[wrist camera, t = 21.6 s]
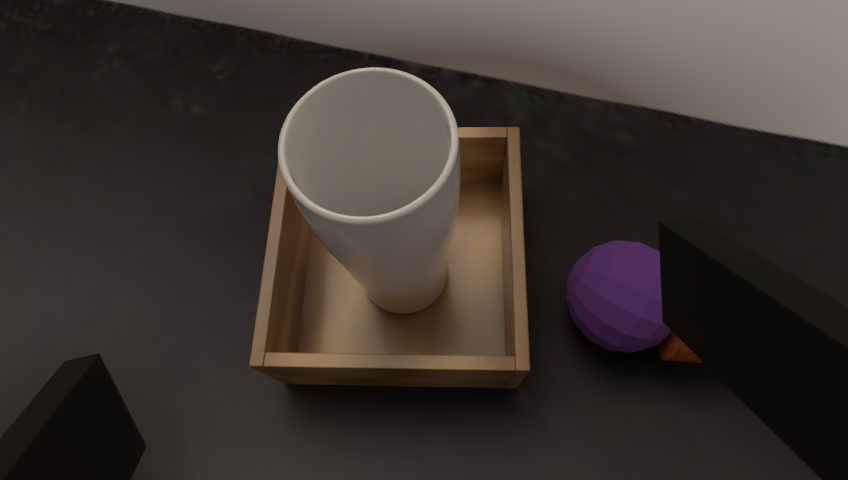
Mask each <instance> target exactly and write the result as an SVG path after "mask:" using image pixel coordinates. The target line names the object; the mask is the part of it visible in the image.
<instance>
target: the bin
mask: <svg viewBox="0 0 848 480" xmlns="http://www.w3.org/2000/svg"><path fill="white" fill-rule="evenodd" d="M458 135H459V146H460V158H461V191H460V202H459V209H458V215H457V220H456V225H455V230H454V235H453V240H452V245H451V251H450V257H449V273H448V279H447V283H446V285H445V288H444V290H443V291H442V293H441V295H440V296H439V297H438V298H437V299H436V300H435V301H434V302H433V303H432V304H431V305H429V306H428V307H426V308H424V309H422V310H420V311H417V312H414V313H408V314H398V313H392V312H388V311H386V310H384V309H382V308H380V307H378V306H377V305H375V304H374V303H373V302H372V301H371V300H370V299H369V298H368V297H367V295H366V294H365V292H364V290H363V289H362V287H361V286H360V285H359V284H358V283H357V281H356V280H355V279H354V278H353V277H352V276H351V275H350V274H349V273H348V272H347V270H346V269H345V268H344V267H343V266H342V265H341V264H340V263H339V262H338V261H337V260H336V259H335V258H334V257H333V255H332V254H331V253H330V252H329V251H328V250H327V249H326V248H325V247H324V245H323V244H322V243H321V242H320V241H319V239H318V238H317V237H316V236H315V234H314V233H313V231H312V230H311V228H310V227H309V225H308V224H307V222H306V221H305V219H304V218H303V216H302V214H301V213H300V211H299V209H298V207H297V205H296V203H295V201H294V199H293V198H292V196H291V193H290V191H289V189H288V187H287V186H286V184H285V182H284V180H283V177H282V174H281V171H280V167H279V161H278V168H277V175H276V182H275V189H274V196H273V203H272V210H271V217H270V224H269V231H268V238H267V245H266V252H265V259H264V266H263V273H262V280H261V287H260V294H259V301H258V308H257V315H256V322H255V329H254V336H253V343H252V350H251V357H250V364H249V366H250V367H252V368H254V369H256V370H258V371H260V372H262V373H264V374H266V375H268V376H270V377H273V378H275V379H277V380H279V381H281V382H283V383H285V384H311V385H364V386H417V387H470V388H518V386H519V385H520V384H521V382H522V381H523V380H524V378H525V377H526V375H527V374H528V373H529V371H530V354H529V332H528V309H527V287H526V265H525V243H524V221H523V198H522V176H521V154H520V132H519V127H508V128H506V127H463V128H458Z"/></svg>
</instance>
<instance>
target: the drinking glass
mask: <svg viewBox="0 0 848 480" xmlns="http://www.w3.org/2000/svg"><path fill="white" fill-rule="evenodd" d="M278 161H279V167H280V171H281V174H282V177H283V180H284V182H285V184H286V186H287V187H288V189H289V191H290V193H291V196H292V198H293V199H294V201H295V203H296V205H297V207H298V209H299V211H300V213H301V214H302V216H303V218H304V219H305V221H306V222H307V224H308V225H309V227H310V228H311V230H312V231H313V233H314V234H315V236H316V237H317V238H318V239H319V241H320V242H321V243H322V244H323V245H324V247H325V248H326V249H327V250H328V251H329V252H330V253H331V254H332V255H333V257H334V258H335V259H336V260H337V261H338V262H339V263H340V264H341V265H342V266H343V267H344V268H345V269H346V270H347V272H348V273H349V274H350V275H351V276H352V277H353V278H354V279H355V280H356V281H357V283H358V284H359V285H360V286H361V287H362V289H363V290H364V292H365V294H366V295H367V297H368V298H369V299H370V300H371V301H372V302H373V303H374V304H375V305H377V306H378V307H380V308H382V309H384V310H386V311H388V312H392V313H398V314H408V313H414V312H417V311H420V310H422V309H424V308H426V307H428V306H429V305H431V304H432V303H433V302H434V301H435V300H436V299H437V298H438V297H439V296H440V295H441V293H442V291H443V290H444V288H445V285H446V283H447V279H448V273H449V257H450V251H451V245H452V240H453V235H454V230H455V225H456V220H457V215H458V209H459V202H460V191H461V158H460V146H459V135H458V128H457V124H456V120H455V118H454V115H453V113H452V111H451V109H450V107H449V105H448V104H447V102H446V101H445V99H444V98H443V97H442V96H441V95H440V94H439V93H438V92H437V91H436V90H435V89H434V88H433V87H432V86H430V85H429V84H428V83H426V82H425V81H423V80H422V79H420V78H418V77H416V76H414V75H411V74H409V73H406V72H403V71H399V70H395V69H389V68H375V67H373V68H360V69H354V70H350V71H346V72H343V73H340V74H337V75H334V76H332V77H330V78H328V79H326V80H324V81H322V82H321V83H319V84H317V85H316V86H314V87H313V88H312V89H310V90H309V91H308V92H307V93H306V94H305V95H303V96H302V97H301V98H300V99H299V101H298V102H297V103H296V104H295V105H294V107H293V108H292V110H291V111H290V113H289V114H288V116H287V118H286V120H285V122H284V124H283V127H282V130H281V133H280V137H279V142H278Z"/></svg>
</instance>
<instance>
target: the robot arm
mask: <svg viewBox="0 0 848 480" xmlns="http://www.w3.org/2000/svg"><path fill="white" fill-rule="evenodd" d="M659 247H660V273H661V298H662V322H663V323H664V324H665V325H666V326H667V327H668V328H669V329H670V330H671V331H672V332H673V333H674V334H675V335H676V336H677V337H678V338H679V339H680V340H681V341H682V342H683V343H684V344H685V345H686V346H687V347H688V348H689V349H690V350H691V351H692V352H693V353H694V354H695V355H696V356H697V357H698V358H699V359H700V360H701V361H702V362H703V363H705V364H706V365H707V366H708V367H709V368H710V369H711V370H712V371H713V372H714V373H715V374H716V375H717V376H718V377H719V378H720V379H721V380H722V381H723V382H724V383H725V384H726V385H727V386H728V387H729V388H730V389H731V390H732V391H733V392H734V393H735V394H736V395H737V396H738V397H739V398H740V399H741V400H742V401H743V402H744V403H745V404H746V405H747V406H748V407H749V408H750V409H751V410H752V411H753V412H754V413H755V414H756V415H757V416H758V417H759V418H760V419H761V420H762V421H763V422H764V423H765V424H766V425H767V426H768V427H769V428H770V429H771V430H772V431H773V432H774V433H775V434H776V435H777V436H778V437H779V438H780V439H781V440H782V441H783V442H784V443H785V444H787V445H788V446H789V447H790V448H791V449H792V450H793V451H794V452H795V453H796V454H797V455H798V456H799V457H800V458H801V459H802V460H803V461H804V462H805V463H806V464H807V465H808V466H809V467H810V468H811V469H812V470H813V471H814V472H815V473H816V474H817V475H818V476H819V477H820V478H821V479H822V480H848V297H845V298H841V299H836V300H835V299H833V298H832V297H830V296H828V295H827V294H825V293H823V292H821V291H820V290H818V289H816V288H815V287H813V286H811V285H810V284H808V283H806V282H804V281H803V280H801V279H799V278H798V277H796V276H794V275H792V274H791V273H789V272H787V271H786V270H784V269H782V268H781V267H779V266H777V265H775V264H774V263H772V262H770V261H769V260H767V259H765V258H764V257H762V256H760V255H758V254H757V253H755V252H753V251H752V250H750V249H748V248H746V247H745V246H743V245H741V244H740V243H738V242H736V241H735V240H733V239H731V238H729V237H728V236H726V235H724V234H723V233H721V232H719V231H718V230H716V229H714V228H712V227H711V226H709V225H707V224H706V223H704V222H702V221H700V220H699V219H697V218H695V217H694V216H692V215H690V214H689V215H685V216H681V217H677V218H672V219H668V220H664V221H660V222H659ZM145 448H146V444H145V443H144V441H143V439H142V437H141V435H140V433H139V431H138V429H137V427H136V425H135V423H134V421H133V419H132V417H131V415H130V413H129V411H128V409H127V407H126V405H125V403H124V401H123V399H122V397H121V396H120V394H119V392H118V390H117V388H116V386H115V384H114V382H113V380H112V378H111V376H110V374H109V372H108V370H107V368H106V366H105V364H104V362H103V360H102V358H101V356H100V354H99V353H98V354H93V355H89V356H85V357H81V358H76V359H72V360H68V361H65V362H64V363H63V364H62V365H61V367H60V368H59V369H58V370H57V371H56V373H55V374H54V375H53V376H52V377H51V379H50V380H49V381H48V382H47V383H46V385H45V386H44V387H43V388H42V389H41V390H40V392H39V393H38V394H37V395H36V396H35V398H34V399H33V400H32V401H31V402H30V404H29V405H28V406H27V407H26V408H25V410H24V411H23V412H22V413H21V414H20V416H19V417H18V418H17V419H16V420H15V422H14V423H13V424H12V425H11V426H10V427H9V429H8V430H7V431H6V432H5V433H4V435H3V436H2V437H1V438H0V480H130V479H131V477H132V475H133V473H134V471H135V469H136V467H137V465H138V463H139V461H140V459H141V456H142V454H143V452H144V450H145Z"/></svg>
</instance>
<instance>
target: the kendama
mask: <svg viewBox="0 0 848 480" xmlns="http://www.w3.org/2000/svg"><path fill="white" fill-rule="evenodd" d="M566 303H567V306H568V309H569V312H570V315H571V318H572V320H573V322H574V323H575V324H576V325H577V327H578V328H579V329H580V330H581V331H582V332H583V333H584V335H585V336H586V337H587V338H588V339H589V340H591V341H592V342H594V343H596V344H598V345H600V346H602V347H604V348H606V349H608V350H610V351H620V352H630V353H633V352H637V351H640V350H643V349H646V348H650V347H653V346H656V345H658V344H660V348H659V354H660V358H662V359H663V360H668V361H682V362H696V363H703V362H702V361H701V360H700V359H699V358H698V357H697V356H696V355H695V354H694V353H693V352H692V351H691V350H690V349H689V348H688V347H687V346H686V345H685V344H684V343H683V342H682V341H681V340H680V339H679V338H678V337H677V336H676V335H675V334H674V333H673V332H672V331H671V330H670V329H669V328H668V327H667V326H666V325H665V324H664V323H663V322H662V298H661V273H660V252H659V251H657V250H655V249H653V248H651V247H649V246H647V245H645V244H643V243H641V242H628V241H612V242H609V243H605V244H602V245H599V246H596V247H593V248H592V249H591V250H590V251H588V252H587V253H586V254H585V255H584V256H582V257H581V258H580V259H579V260H578V261H577V262H576V263H575V265H574V266H573V268H572V270H571V272H570V274H569V276H568V279H567V290H566Z"/></svg>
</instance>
